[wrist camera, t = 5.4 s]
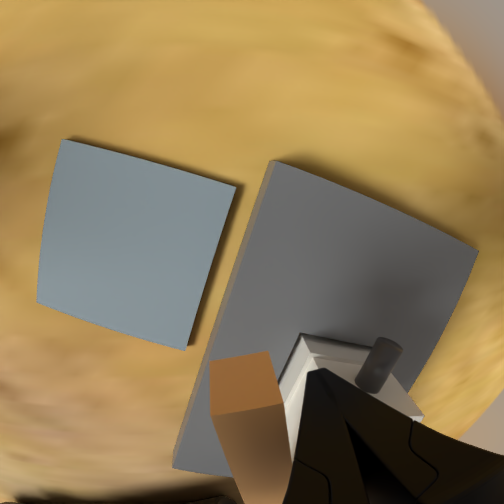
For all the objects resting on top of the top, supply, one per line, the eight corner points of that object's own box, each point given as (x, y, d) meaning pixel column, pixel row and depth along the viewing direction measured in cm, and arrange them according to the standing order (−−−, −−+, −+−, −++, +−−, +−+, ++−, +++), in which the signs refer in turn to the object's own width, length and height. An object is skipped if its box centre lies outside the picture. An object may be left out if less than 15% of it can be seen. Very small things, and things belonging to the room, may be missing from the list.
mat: (235, 186, 13) (236, 187, 13) (185, 346, 15) (185, 351, 15) (65, 139, 12) (62, 138, 11) (39, 299, 14) (36, 302, 13)
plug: (383, 308, 16) (453, 376, 10) (334, 400, 17) (374, 481, 11) (307, 287, 15) (364, 366, 9) (262, 390, 17) (285, 485, 10)
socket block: (462, 243, 16) (545, 282, 9) (335, 466, 20) (361, 531, 13) (269, 160, 13) (318, 161, 7) (173, 450, 17) (168, 534, 11)
